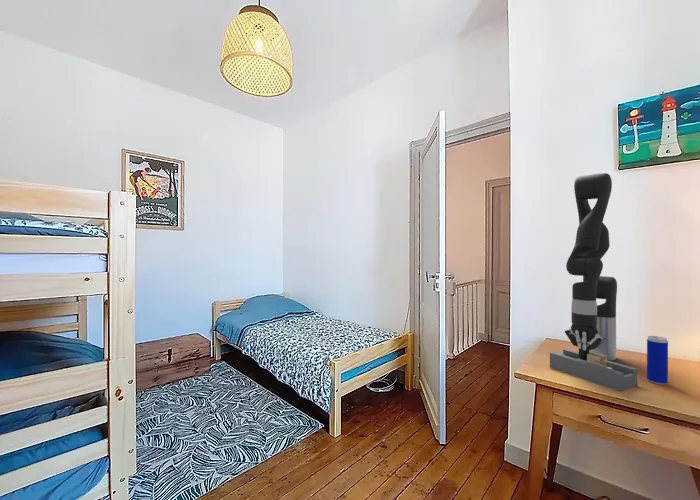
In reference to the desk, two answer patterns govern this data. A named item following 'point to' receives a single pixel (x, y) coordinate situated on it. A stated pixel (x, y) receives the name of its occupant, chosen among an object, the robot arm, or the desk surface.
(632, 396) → the desk surface
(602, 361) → the birch block
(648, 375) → the blue cylinder
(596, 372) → the box
